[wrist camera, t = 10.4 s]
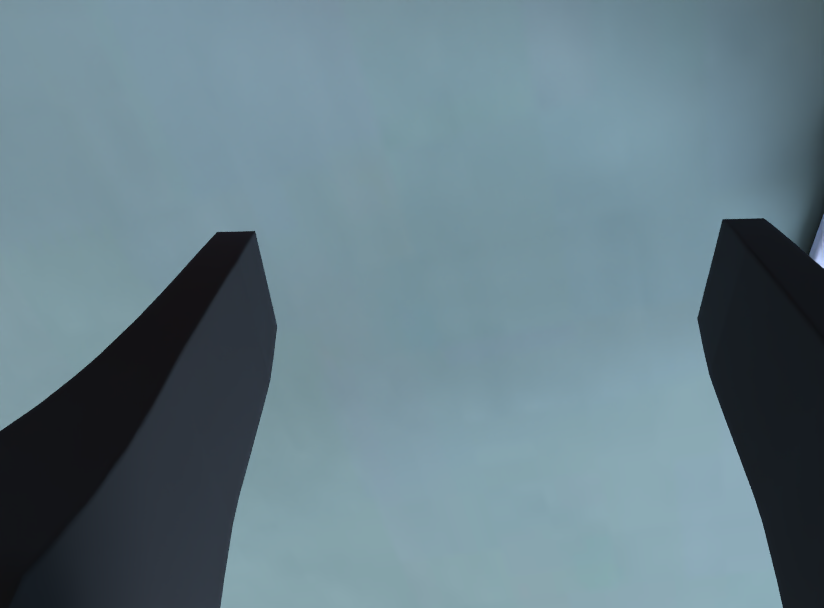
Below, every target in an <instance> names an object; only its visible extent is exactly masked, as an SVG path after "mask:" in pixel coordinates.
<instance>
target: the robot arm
mask: <svg viewBox="0 0 824 608" xmlns="http://www.w3.org/2000/svg"><path fill="white" fill-rule="evenodd" d="M698 324H699V329H700V334H701V339H702V344H703V349H704V353H705V358H706V362H707V366H708V371H709V375H710V378H711V381H712V384H713V386H714V389H715V392H716V395H717V398H718V400H719V403H720V406H721V409H722V411H723V414H724V417H725V419H726V422H727V425H728V428H729V430H730V433H731V436H732V438H733V441H734V444H735V446H736V449H737V452H738V454H739V457H740V460H741V462H742V465H743V468H744V470H745V473H746V476H747V478H748V481H749V484H750V486H751V489H752V492H753V494H754V497H755V501H756V504H757V507H758V510H759V513H760V516H761V519H762V522H763V526H764V530H765V534H766V538H767V542H768V546H769V550H770V554H771V558H772V562H773V566H774V570H775V574H776V578H777V583H778V587H779V592H780V596H781V601H782V605H783V608H824V215H823V217H822V220H821V223H820V226H819V229H818V231H817V234H816V237H815V240H814V243H813V245H812V248H811V251H810V254H809V256H808V255H807V254H806V253H805V252H804V251H803V250H801V249H800V248H799V247H798V246H797V245H796V244H795V243H793V242H792V241H791V240H790V239H789V238H788V237H786V236H785V235H784V234H783V233H782V232H780V231H779V230H778V229H777V228H776V227H774V226H773V225H772V224H771V223H769V222H768V221H767V220H765V219H764V218H761V219H723V220H722V224H721V228H720V232H719V236H718V240H717V244H716V248H715V252H714V256H713V260H712V264H711V268H710V272H709V275H708V279H707V283H706V287H705V291H704V295H703V299H702V303H701V307H700V311H699V315H698ZM276 331H277V324H276V319H275V315H274V311H273V307H272V302H271V298H270V294H269V289H268V285H267V281H266V276H265V272H264V268H263V263H262V259H261V255H260V251H259V246H258V242H257V238H256V233H255V231H245V232H217V233H216V234H215V235H214V236H213V237H212V238H211V239H210V240H209V241H208V243H207V244H206V245H205V246H204V247H203V248H202V249H201V250H200V251H199V252H198V253H197V254H196V256H195V257H194V258H193V259H192V260H191V261H190V262H189V263H188V265H187V266H186V267H185V268H184V269H183V270H182V271H181V272H180V273H179V274H178V276H177V277H176V278H175V279H174V280H173V281H172V282H171V283H170V284H169V286H168V287H167V288H166V289H165V290H164V291H163V292H162V293H161V294H160V295H159V296H158V297H157V298H156V299H155V300H154V301H153V303H152V304H151V305H150V306H149V307H148V308H147V309H146V310H145V311H144V312H143V313H142V314H141V315H140V316H139V317H138V318H137V319H136V320H135V321H134V322H133V323H132V324H131V325H130V326H129V327H128V328H127V329H126V330H125V331H124V332H123V333H122V334H121V335H120V336H119V337H118V338H117V339H115V340H114V341H113V342H112V343H111V344H110V345H109V346H108V347H107V348H106V349H105V350H104V351H103V352H102V353H101V354H100V355H99V356H98V357H96V358H95V359H94V360H93V361H92V362H91V363H90V364H89V365H87V366H86V367H85V368H84V369H83V370H81V371H80V372H79V373H78V374H77V375H76V376H74V377H73V378H72V379H71V380H69V381H68V382H67V383H66V384H64V385H63V386H62V387H61V388H59V389H58V390H57V391H56V392H54V393H53V394H52V395H50V396H49V397H48V398H47V399H45V400H44V401H43V402H41V403H40V404H39V405H37V406H36V407H35V408H33V409H32V410H30V411H29V412H27V413H26V414H24V415H23V416H22V417H20V418H19V419H17V420H16V421H14V422H13V423H11V424H10V425H9V426H7V427H6V428H4V429H3V430H1V431H0V608H220V605H221V598H222V591H223V583H224V577H225V570H226V564H227V558H228V551H229V545H230V539H231V532H232V526H233V521H234V517H235V512H236V508H237V503H238V499H239V495H240V491H241V487H242V484H243V480H244V476H245V473H246V469H247V465H248V462H249V458H250V454H251V451H252V447H253V443H254V440H255V436H256V432H257V429H258V425H259V421H260V417H261V414H262V410H263V406H264V402H265V399H266V395H267V391H268V387H269V383H270V378H271V370H272V363H273V356H274V348H275V339H276Z"/></svg>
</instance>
